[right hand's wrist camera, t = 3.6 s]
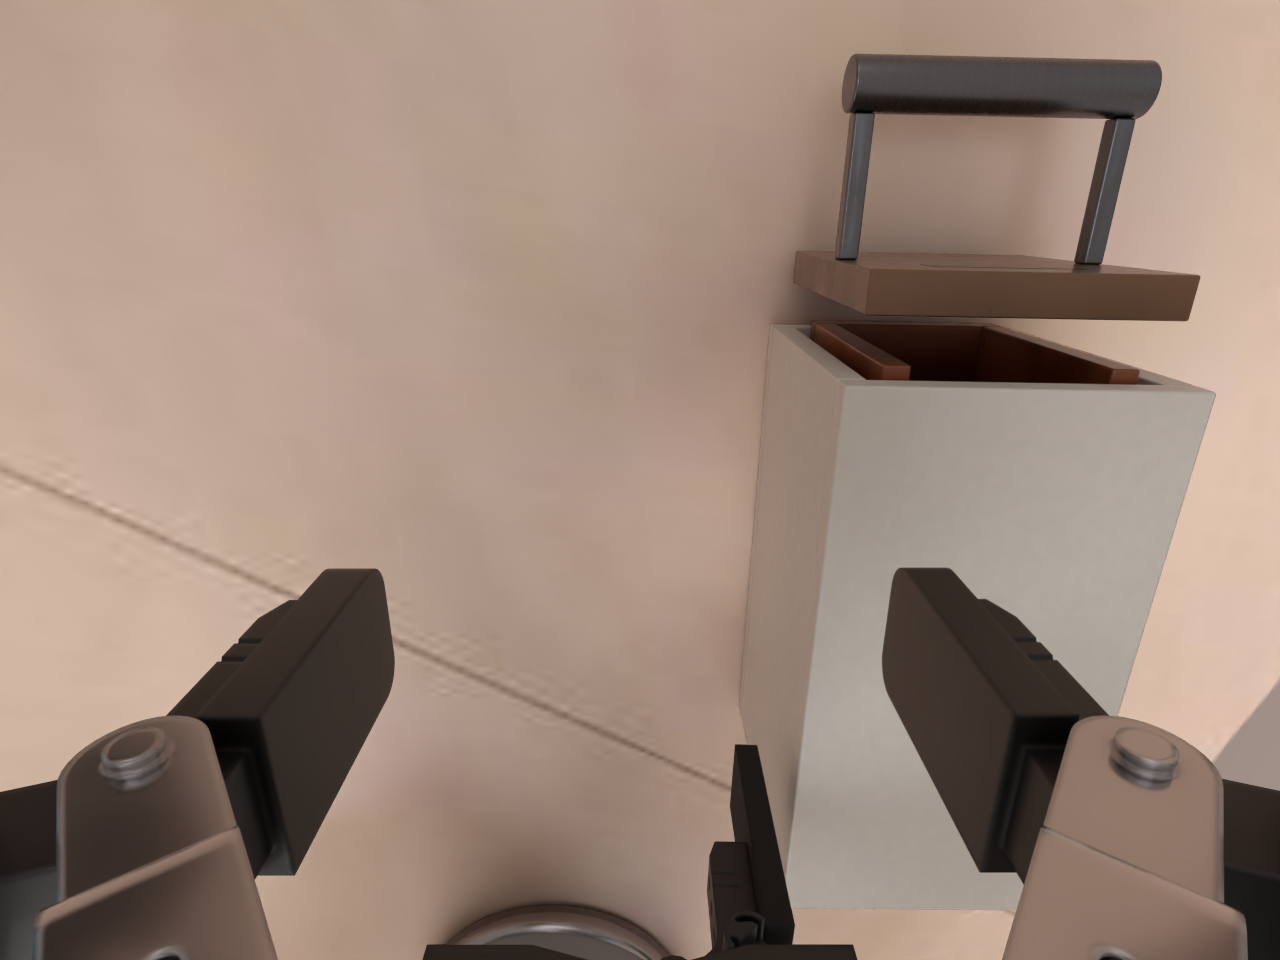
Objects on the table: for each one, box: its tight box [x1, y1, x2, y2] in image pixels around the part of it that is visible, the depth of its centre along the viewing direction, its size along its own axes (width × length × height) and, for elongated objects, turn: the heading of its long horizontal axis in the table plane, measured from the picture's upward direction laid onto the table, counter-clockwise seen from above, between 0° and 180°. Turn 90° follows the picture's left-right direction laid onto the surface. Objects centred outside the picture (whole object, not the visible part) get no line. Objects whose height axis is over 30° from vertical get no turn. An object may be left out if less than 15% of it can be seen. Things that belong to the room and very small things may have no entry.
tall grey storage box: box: [739, 324, 1216, 910], centre depth 27 cm, size 19×10×11 cm, turn 179°
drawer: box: [793, 54, 1200, 385], centre depth 25 cm, size 23×9×9 cm, turn 179°
